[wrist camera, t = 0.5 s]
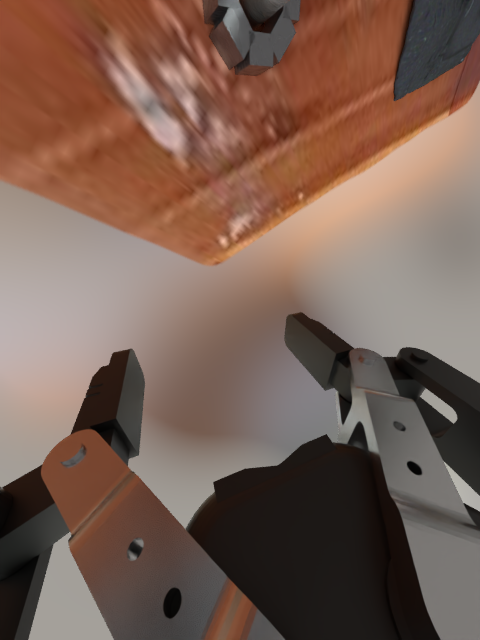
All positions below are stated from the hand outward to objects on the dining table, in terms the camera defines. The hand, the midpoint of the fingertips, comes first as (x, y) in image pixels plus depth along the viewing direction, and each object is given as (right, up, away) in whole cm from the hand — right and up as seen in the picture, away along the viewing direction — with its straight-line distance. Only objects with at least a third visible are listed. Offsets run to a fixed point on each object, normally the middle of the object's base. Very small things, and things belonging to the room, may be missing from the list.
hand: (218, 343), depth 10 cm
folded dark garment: (+36, +53, +24) cm, 68 cm away
